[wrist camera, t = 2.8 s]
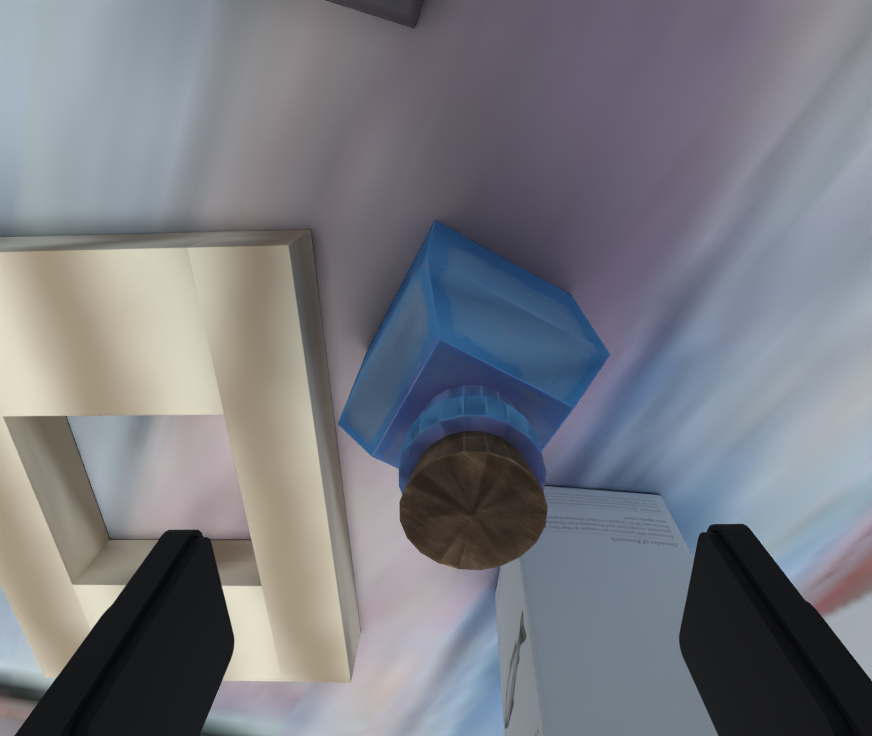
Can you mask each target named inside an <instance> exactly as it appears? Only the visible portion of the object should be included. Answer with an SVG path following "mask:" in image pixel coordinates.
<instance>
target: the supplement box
mask: <svg viewBox="0 0 872 736" xmlns="http://www.w3.org/2000/svg"><path fill="white" fill-rule="evenodd" d="M544 495H545V499H546V502H547V506H548V511H547V519H546V526H545V528H544V530H543V532H542V533H541V535H540V537H539V539H538V541H537V543H536V544H535V545H533V546H532V547H531V548H530V549H529V550H528V551H527V552H526V553H525V554H523V555H522V556H521V557H519V558H517V559H515V560H513V561H511V562H509V563H507V564H505V565H503V566H500V572H499V577H498V583H497V588H496V592H495V601H496V614H497V631H498V646H499V661H500V677H501V691H502V706H503V720H504V734H505V736H718V734H717V732H716V730H715V727H714V725H713V723H712V721H711V719H710V716H709V714H708V712H707V710H706V707H705V705H704V703H703V701H702V699H701V696H700V694H699V692H698V690H697V687H696V685H695V683H694V681H693V679H692V676H691V674H690V672H689V670H688V668H687V665H686V663H685V661H684V659H683V656H682V653H681V650H680V645H679V633H680V628H681V623H682V618H683V613H684V608H685V603H686V598H687V593H688V588H689V583H690V578H691V573H692V568H693V563H694V558H693V556H692V554H691V552H690V550H689V548H688V546H687V544H686V543H685V541H684V539H683V537H682V535H681V533H680V531H679V529H678V527H677V525H676V523H675V522H674V520H673V518H672V516H671V514H670V512H669V510H668V509H667V507H666V505H665V503H664V501H663V498H662V497H661V496H660V495H652V494H640V493H628V492H614V491H604V490H589V489H579V488H563V487H551V486H545V487H544Z"/></svg>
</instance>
